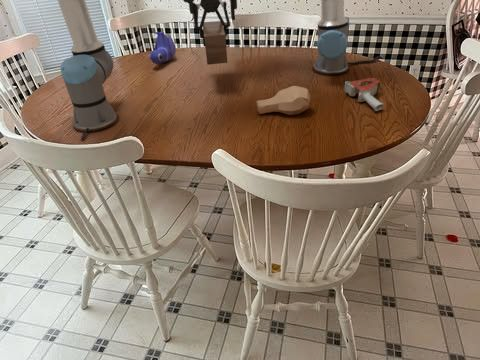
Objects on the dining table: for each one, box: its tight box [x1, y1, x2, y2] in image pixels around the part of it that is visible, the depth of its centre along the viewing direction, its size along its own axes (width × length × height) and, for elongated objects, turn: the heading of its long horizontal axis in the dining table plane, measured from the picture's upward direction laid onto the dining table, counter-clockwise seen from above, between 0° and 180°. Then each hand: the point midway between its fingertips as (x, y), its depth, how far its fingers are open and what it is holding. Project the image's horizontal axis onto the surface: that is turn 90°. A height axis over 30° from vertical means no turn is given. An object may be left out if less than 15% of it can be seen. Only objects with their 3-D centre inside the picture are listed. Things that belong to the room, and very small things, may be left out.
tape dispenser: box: [343, 77, 384, 112], centre depth 136 cm, size 18×5×20 cm
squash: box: [255, 85, 312, 116], centre depth 130 cm, size 11×20×9 cm, turn 92°
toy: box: [148, 31, 177, 69], centre depth 182 cm, size 10×17×25 cm
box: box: [202, 20, 228, 66], centre depth 149 cm, size 24×8×11 cm, turn 6°
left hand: (214, 21), depth 126 cm, fingers open, 13 cm apart
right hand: (214, 44), depth 159 cm, fingers closed on box, 8 cm apart
